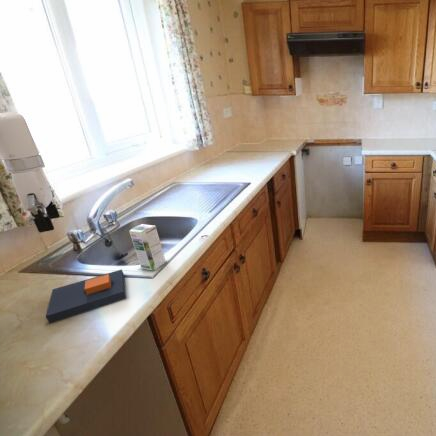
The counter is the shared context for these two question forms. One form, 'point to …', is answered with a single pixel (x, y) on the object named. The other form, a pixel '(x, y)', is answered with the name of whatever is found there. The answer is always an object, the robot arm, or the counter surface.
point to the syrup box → (147, 246)
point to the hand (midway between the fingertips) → (50, 224)
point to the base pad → (84, 297)
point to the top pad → (97, 284)
